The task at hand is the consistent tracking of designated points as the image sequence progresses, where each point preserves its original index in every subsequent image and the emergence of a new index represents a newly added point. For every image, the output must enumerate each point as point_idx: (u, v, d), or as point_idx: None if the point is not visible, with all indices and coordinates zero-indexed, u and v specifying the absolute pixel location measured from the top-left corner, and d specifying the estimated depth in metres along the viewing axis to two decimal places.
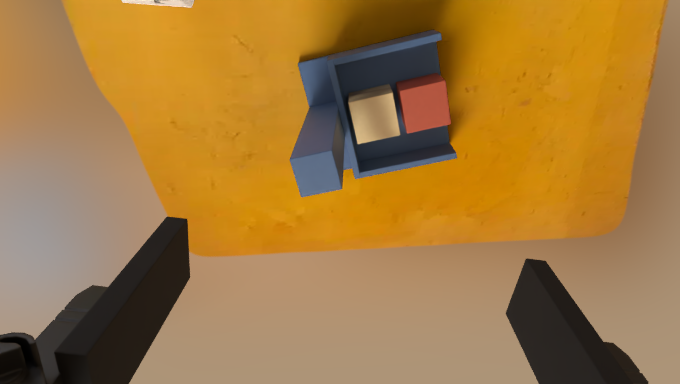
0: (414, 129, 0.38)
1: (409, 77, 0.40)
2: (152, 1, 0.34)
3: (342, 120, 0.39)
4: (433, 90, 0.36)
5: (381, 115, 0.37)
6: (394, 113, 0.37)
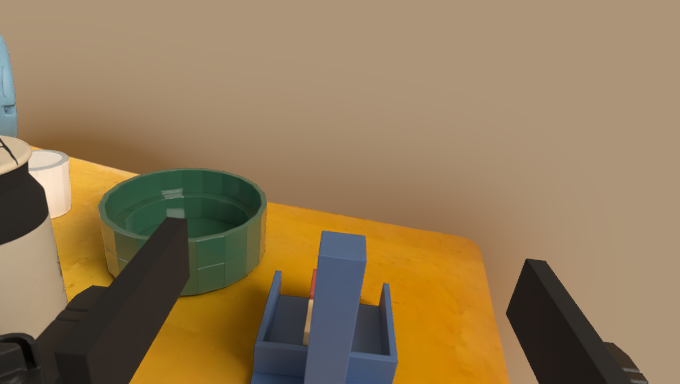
0: None
1: None
2: None
3: None
4: None
5: None
6: None
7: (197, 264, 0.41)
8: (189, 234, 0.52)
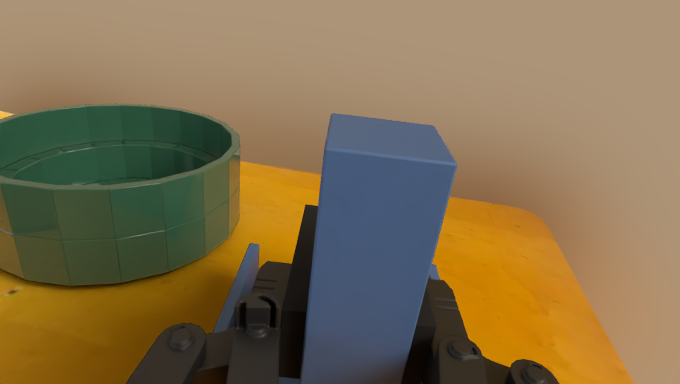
0: None
1: None
2: None
3: None
4: None
5: None
6: None
7: (115, 230, 0.24)
8: None
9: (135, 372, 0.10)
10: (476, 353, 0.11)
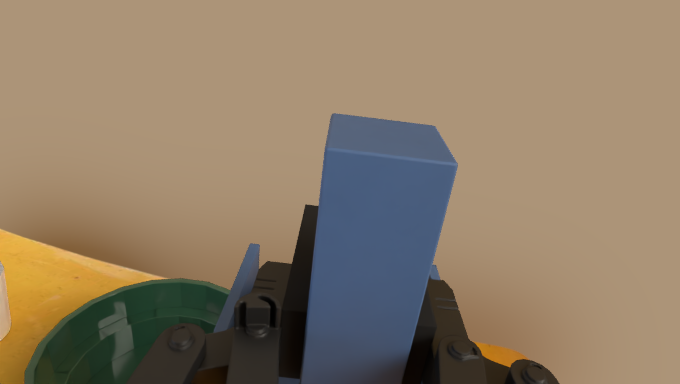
0: None
1: None
2: None
3: None
4: None
5: None
6: None
7: None
8: None
9: (135, 372, 0.10)
10: (476, 353, 0.11)
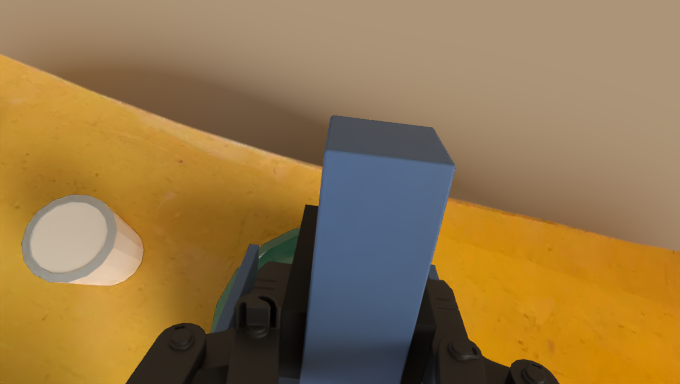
0: None
1: None
2: None
3: None
4: None
5: None
6: None
7: None
8: None
9: (135, 372, 0.10)
10: (476, 353, 0.11)
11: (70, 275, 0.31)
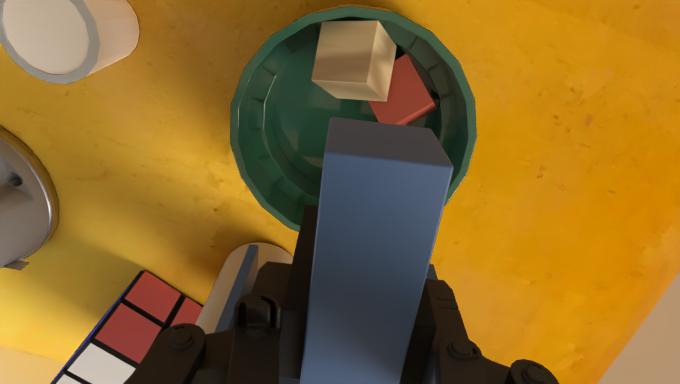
0: (425, 95, 0.29)
1: None
2: None
3: None
4: None
5: None
6: None
7: None
8: None
9: (135, 372, 0.10)
10: (476, 353, 0.11)
11: (69, 76, 0.28)
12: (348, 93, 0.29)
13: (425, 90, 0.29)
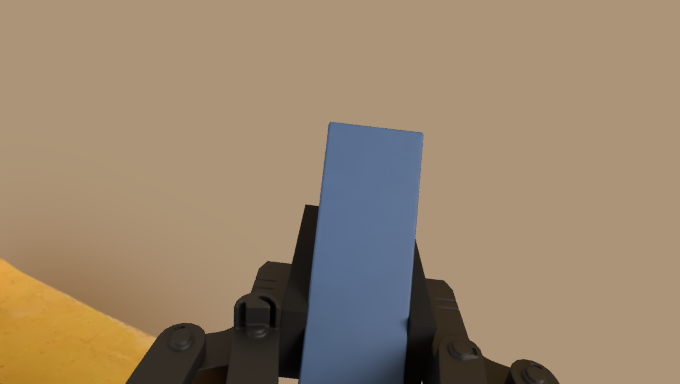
0: None
1: None
2: None
3: None
4: None
5: None
6: None
7: None
8: None
9: (135, 372, 0.10)
10: (476, 353, 0.11)
11: None
12: None
13: None
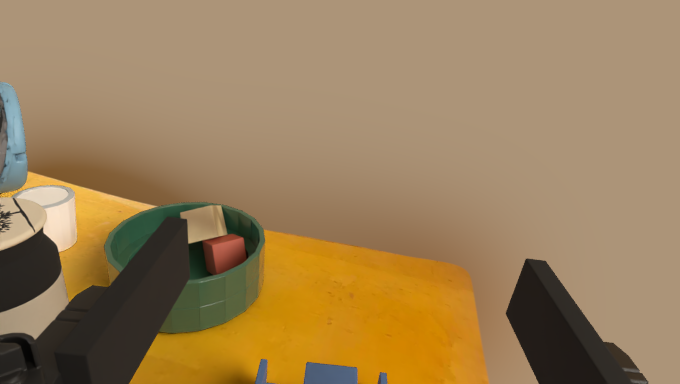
0: (239, 237, 0.52)
1: None
2: None
3: None
4: (209, 240, 0.52)
5: None
6: None
7: (199, 303, 0.43)
8: (190, 267, 0.54)
9: None
10: None
11: None
12: (196, 229, 0.52)
13: (239, 236, 0.53)
